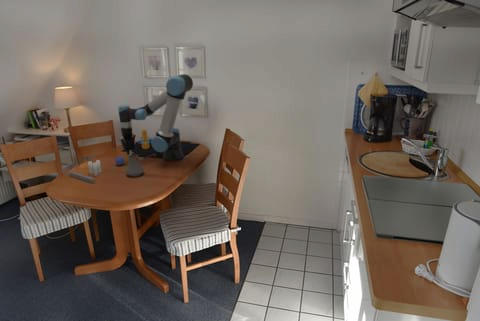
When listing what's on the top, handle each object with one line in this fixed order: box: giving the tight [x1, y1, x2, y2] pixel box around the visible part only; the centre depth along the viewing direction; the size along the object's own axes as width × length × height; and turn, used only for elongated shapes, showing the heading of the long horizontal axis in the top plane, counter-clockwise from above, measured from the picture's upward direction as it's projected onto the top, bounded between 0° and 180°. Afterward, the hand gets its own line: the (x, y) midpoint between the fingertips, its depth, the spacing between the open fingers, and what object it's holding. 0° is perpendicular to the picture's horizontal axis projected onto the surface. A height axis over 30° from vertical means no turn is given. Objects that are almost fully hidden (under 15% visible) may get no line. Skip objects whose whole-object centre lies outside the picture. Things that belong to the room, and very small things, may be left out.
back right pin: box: [87, 160, 94, 175], centre depth 222 cm, size 2×2×8 cm
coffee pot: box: [125, 153, 157, 177], centre depth 218 cm, size 21×12×15 cm, turn 82°
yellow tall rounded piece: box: [137, 129, 153, 150], centre depth 274 cm, size 12×10×15 cm
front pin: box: [95, 159, 102, 174], centre depth 224 cm, size 2×2×8 cm
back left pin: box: [92, 162, 99, 177], centre depth 219 cm, size 2×2×8 cm
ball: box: [114, 156, 125, 166], centre depth 238 cm, size 6×6×6 cm
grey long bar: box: [68, 171, 96, 184], centre depth 215 cm, size 24×2×2 cm, turn 58°
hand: (130, 158), depth 246 cm, fingers closed
